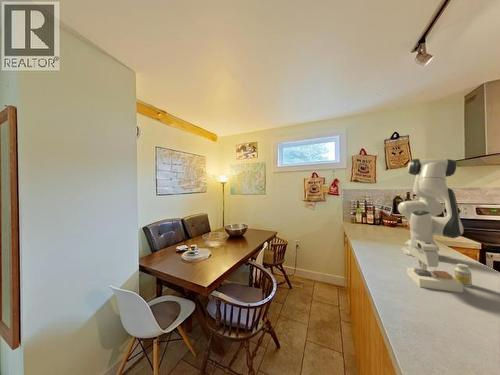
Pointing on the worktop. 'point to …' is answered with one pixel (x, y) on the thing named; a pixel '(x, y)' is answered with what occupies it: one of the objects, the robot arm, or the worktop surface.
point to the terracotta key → (442, 274)
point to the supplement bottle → (463, 275)
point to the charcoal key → (422, 272)
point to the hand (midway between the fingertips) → (423, 268)
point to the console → (435, 281)
